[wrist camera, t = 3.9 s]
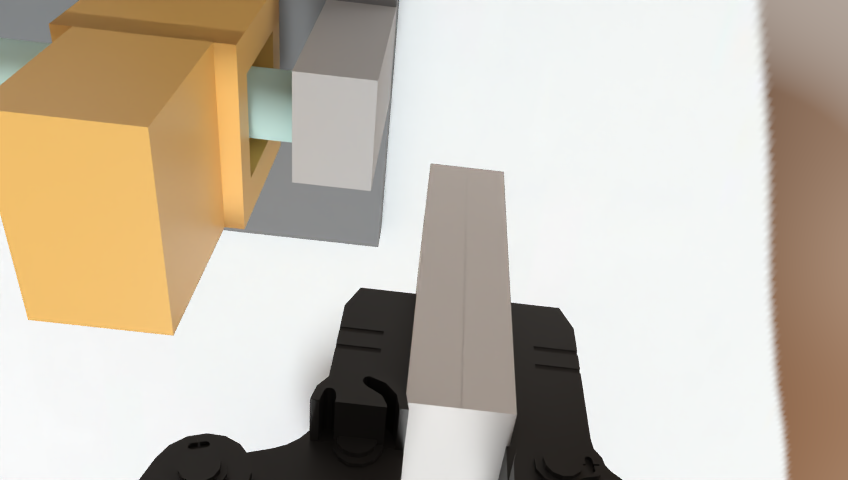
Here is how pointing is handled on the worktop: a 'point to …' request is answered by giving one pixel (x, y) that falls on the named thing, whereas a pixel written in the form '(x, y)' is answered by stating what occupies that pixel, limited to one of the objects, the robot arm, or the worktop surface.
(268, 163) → the sleeve
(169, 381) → the worktop surface
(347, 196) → the linear slide with carriage
